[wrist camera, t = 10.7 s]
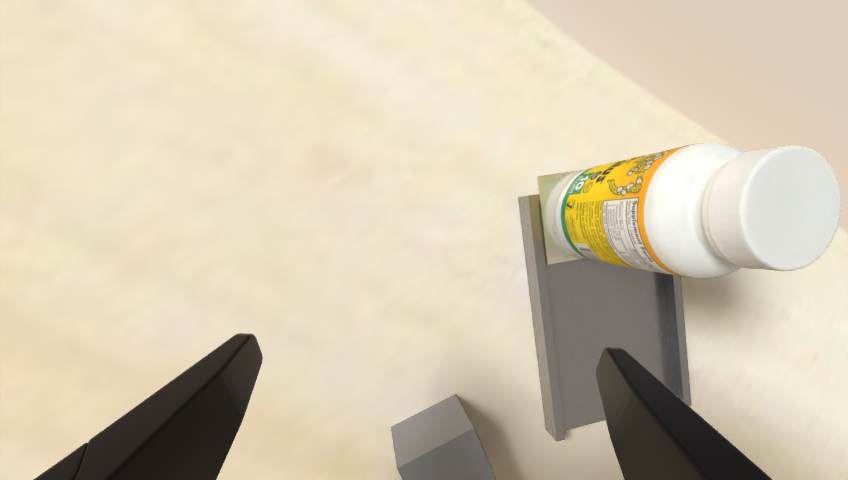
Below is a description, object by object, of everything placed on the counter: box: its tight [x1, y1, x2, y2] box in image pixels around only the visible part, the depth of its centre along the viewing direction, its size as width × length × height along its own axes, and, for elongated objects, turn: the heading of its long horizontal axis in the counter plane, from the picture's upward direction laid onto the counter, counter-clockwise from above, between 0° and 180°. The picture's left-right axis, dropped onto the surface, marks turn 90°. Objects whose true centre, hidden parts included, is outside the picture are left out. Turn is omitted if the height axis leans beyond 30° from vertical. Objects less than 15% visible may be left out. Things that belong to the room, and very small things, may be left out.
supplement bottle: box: [556, 143, 841, 279], centre depth 16 cm, size 5×5×10 cm
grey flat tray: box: [518, 170, 691, 441], centre depth 21 cm, size 15×9×1 cm, turn 8°
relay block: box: [391, 394, 496, 480], centre depth 19 cm, size 5×4×4 cm
